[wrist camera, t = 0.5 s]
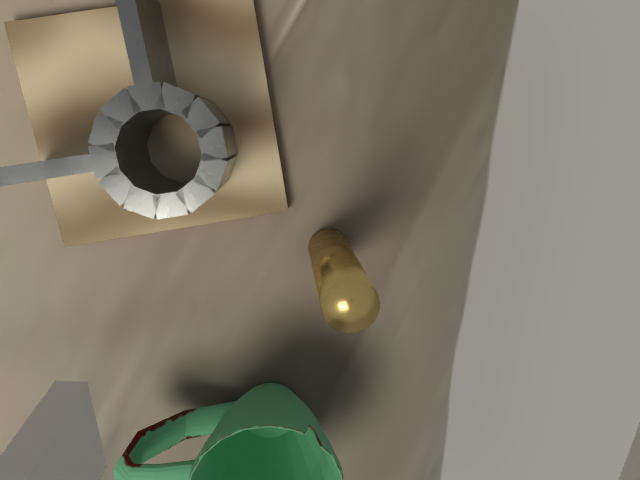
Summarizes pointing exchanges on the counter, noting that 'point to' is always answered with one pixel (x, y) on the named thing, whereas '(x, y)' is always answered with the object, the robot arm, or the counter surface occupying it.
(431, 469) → the counter surface
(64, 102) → the mounting board
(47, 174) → the grey piece
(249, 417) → the mug
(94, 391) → the counter surface
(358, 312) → the hinge pin
